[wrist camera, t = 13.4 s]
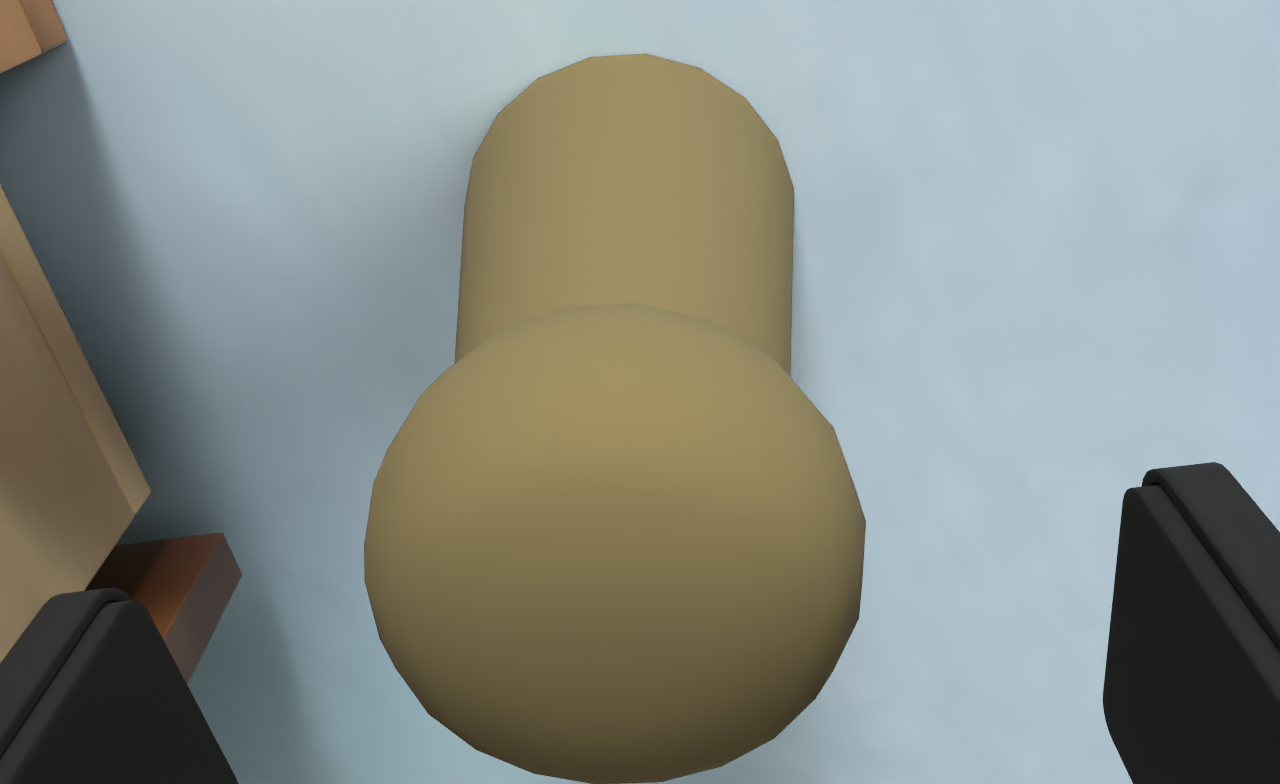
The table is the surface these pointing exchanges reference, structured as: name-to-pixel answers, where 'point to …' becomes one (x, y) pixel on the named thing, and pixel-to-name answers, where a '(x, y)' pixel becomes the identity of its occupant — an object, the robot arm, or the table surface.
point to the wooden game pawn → (619, 447)
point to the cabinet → (27, 31)
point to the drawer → (81, 481)
